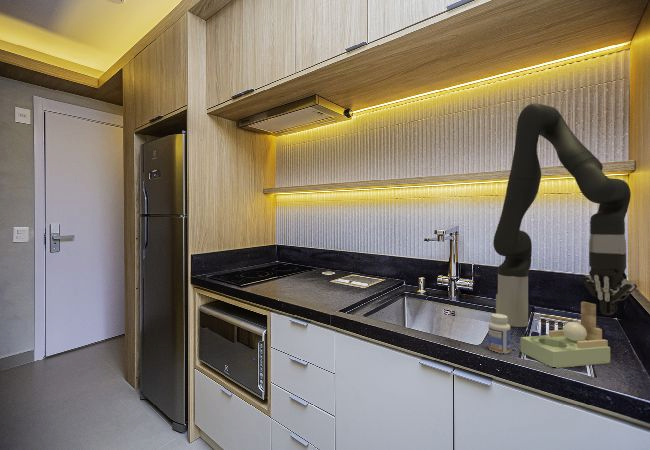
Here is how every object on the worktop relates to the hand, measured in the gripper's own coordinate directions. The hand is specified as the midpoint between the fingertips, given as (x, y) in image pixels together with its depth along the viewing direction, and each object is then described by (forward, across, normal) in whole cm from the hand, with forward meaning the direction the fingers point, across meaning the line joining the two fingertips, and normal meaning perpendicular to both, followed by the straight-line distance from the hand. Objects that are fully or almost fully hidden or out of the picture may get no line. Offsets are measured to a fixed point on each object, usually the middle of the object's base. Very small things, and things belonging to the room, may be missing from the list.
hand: (607, 314), depth 84 cm
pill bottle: (+11, -7, -28) cm, 30 cm away
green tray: (+11, 0, -14) cm, 18 cm away
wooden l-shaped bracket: (+6, 0, -6) cm, 9 cm away
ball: (+4, 0, -10) cm, 11 cm away
